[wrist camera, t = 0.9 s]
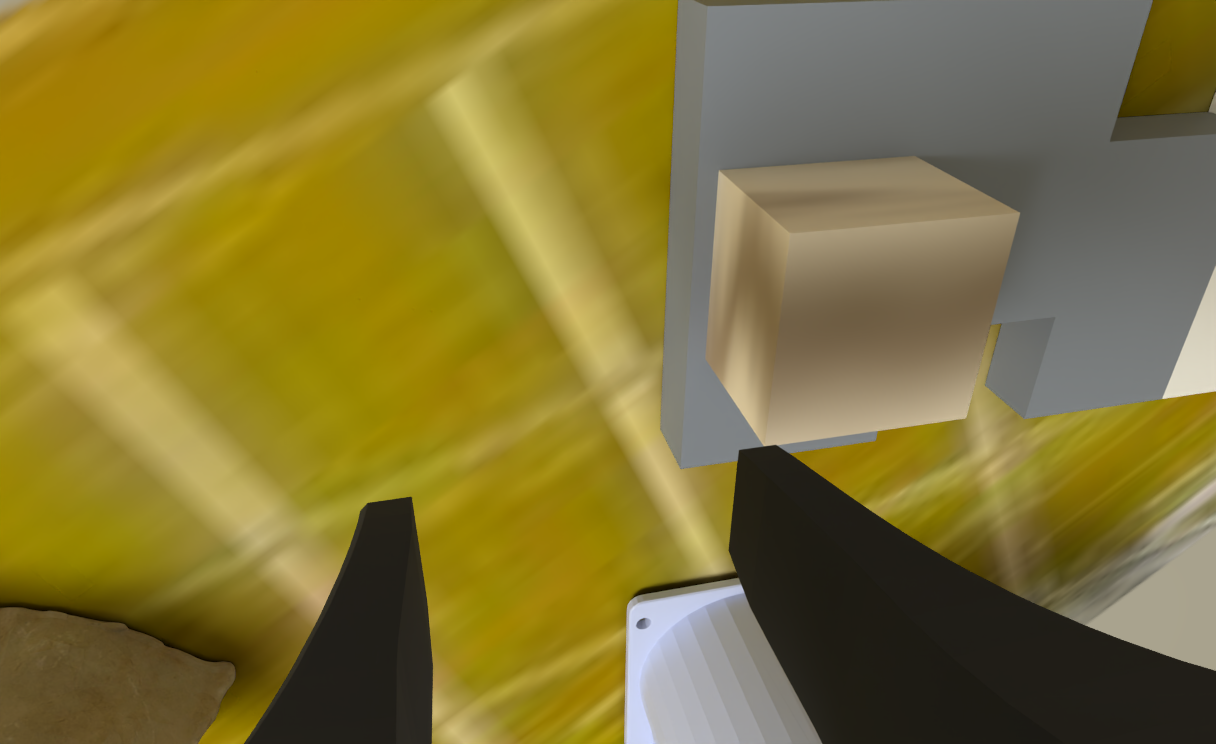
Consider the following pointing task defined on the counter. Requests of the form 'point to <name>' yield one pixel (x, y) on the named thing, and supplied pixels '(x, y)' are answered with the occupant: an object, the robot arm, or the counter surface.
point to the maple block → (852, 294)
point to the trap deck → (973, 153)
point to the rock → (100, 683)
